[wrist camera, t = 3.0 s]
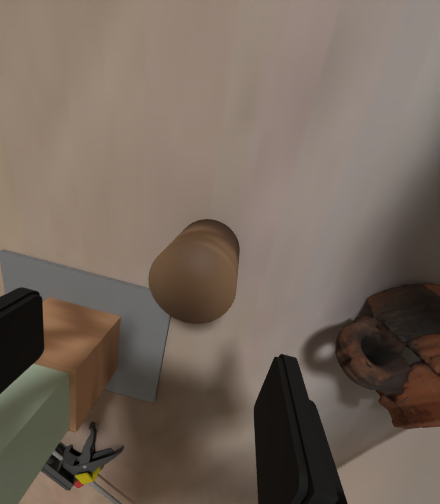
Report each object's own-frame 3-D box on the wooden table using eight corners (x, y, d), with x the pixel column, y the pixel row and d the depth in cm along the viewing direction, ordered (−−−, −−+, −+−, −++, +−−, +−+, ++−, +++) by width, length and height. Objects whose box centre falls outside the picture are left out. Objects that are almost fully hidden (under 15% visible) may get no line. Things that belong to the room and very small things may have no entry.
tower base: (121, 316, 21) (75, 370, 16) (116, 370, 24) (76, 432, 18) (49, 297, 21) (-21, 343, 16) (52, 352, 24) (-8, 409, 18)
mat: (174, 295, 20) (173, 297, 20) (155, 400, 25) (153, 403, 25) (3, 249, 20) (-1, 251, 20) (18, 362, 26) (15, 365, 25)
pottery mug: (484, 279, 17) (613, 410, 12) (391, 328, 24) (446, 425, 19) (345, 270, 15) (427, 427, 10) (287, 327, 22) (316, 437, 17)
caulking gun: (-65, 309, 21) (-136, 364, 22) (177, 516, 30) (118, 549, 31) (-23, 291, 25) (-86, 339, 26) (180, 479, 34) (128, 510, 34)
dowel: (246, 228, 17) (246, 257, 12) (230, 284, 19) (224, 332, 14) (183, 212, 17) (154, 233, 12) (173, 268, 19) (144, 310, 14)
